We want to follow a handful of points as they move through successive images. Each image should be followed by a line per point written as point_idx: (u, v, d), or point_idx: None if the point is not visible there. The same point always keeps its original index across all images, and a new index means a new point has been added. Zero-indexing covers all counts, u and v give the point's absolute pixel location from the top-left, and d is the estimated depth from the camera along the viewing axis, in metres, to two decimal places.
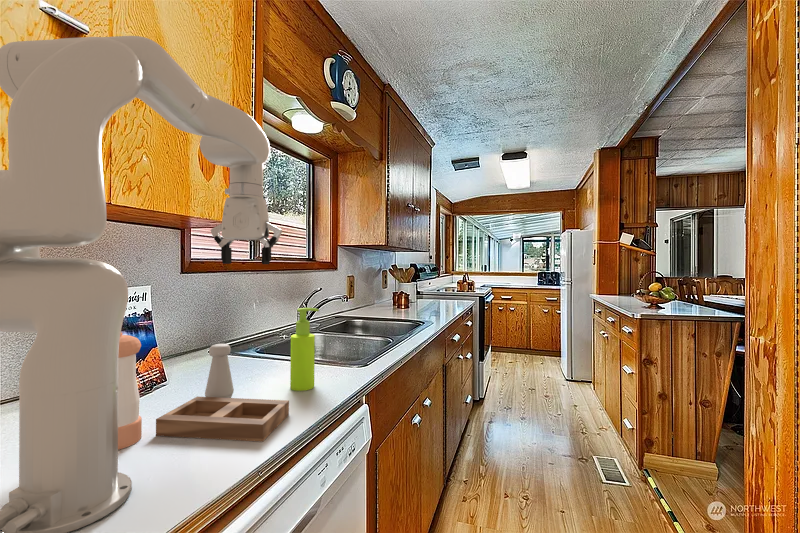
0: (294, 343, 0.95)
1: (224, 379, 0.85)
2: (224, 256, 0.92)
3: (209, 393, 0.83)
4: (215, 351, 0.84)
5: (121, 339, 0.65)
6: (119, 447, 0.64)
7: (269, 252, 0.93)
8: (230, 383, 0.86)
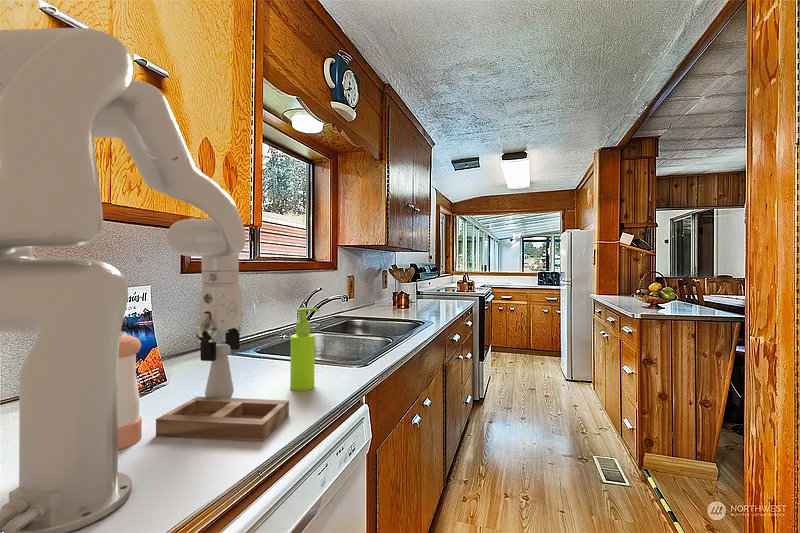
0: (294, 343, 0.95)
1: (224, 379, 0.85)
2: (215, 352, 0.82)
3: (209, 393, 0.83)
4: None
5: (121, 339, 0.65)
6: (119, 447, 0.64)
7: None
8: (230, 383, 0.86)
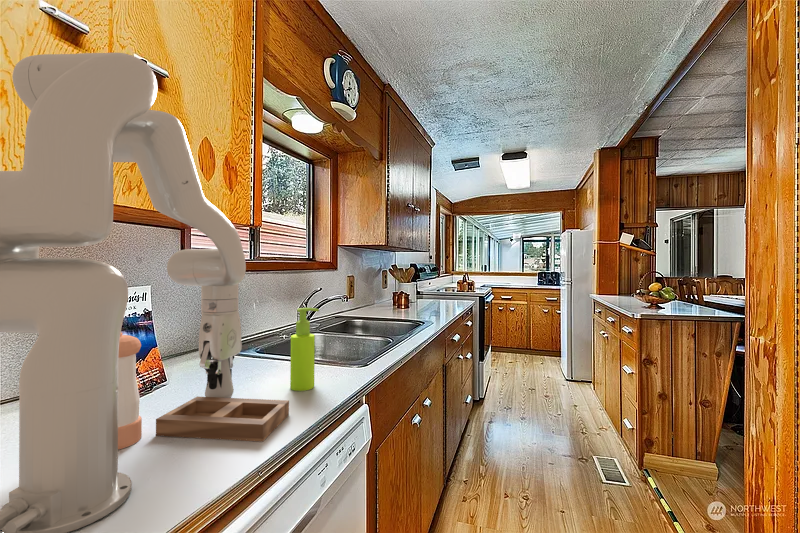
0: (294, 343, 0.95)
1: (224, 379, 0.85)
2: None
3: (209, 393, 0.83)
4: None
5: (121, 339, 0.65)
6: (119, 447, 0.64)
7: None
8: (230, 383, 0.86)
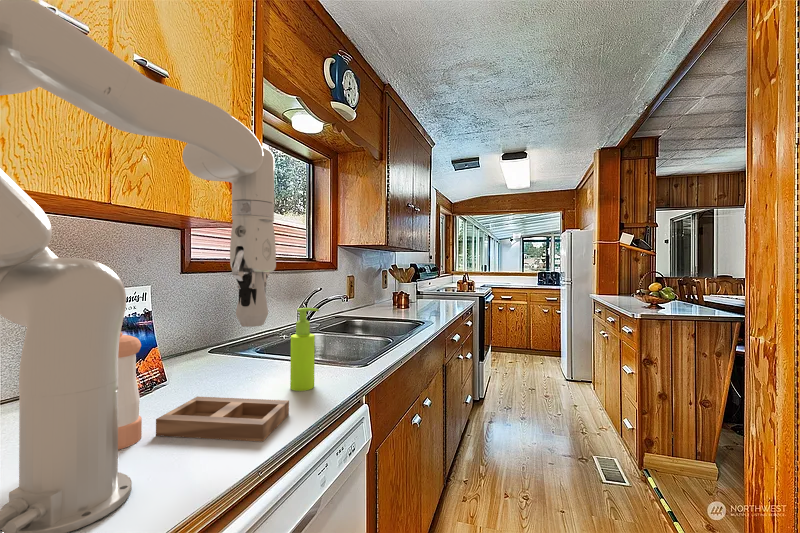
0: (294, 343, 0.95)
1: (259, 295, 0.72)
2: None
3: (242, 311, 0.71)
4: None
5: (121, 339, 0.65)
6: (119, 447, 0.64)
7: None
8: (265, 302, 0.74)
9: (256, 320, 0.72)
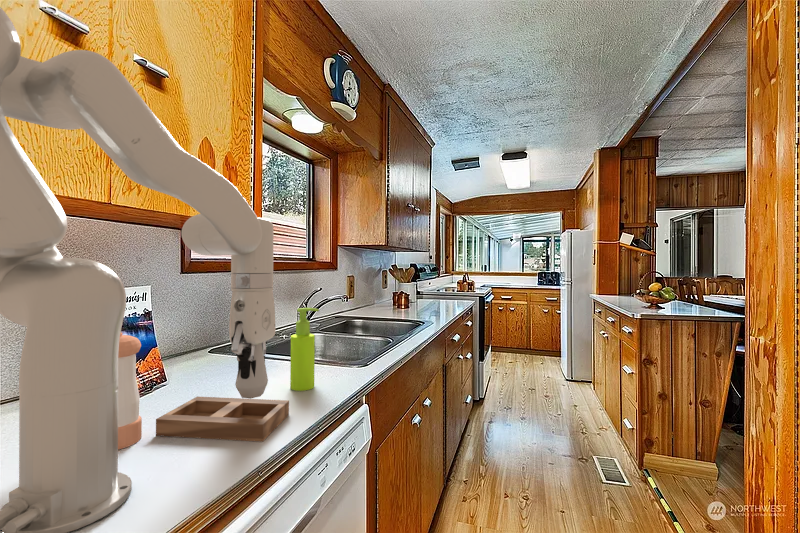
0: (294, 343, 0.95)
1: (258, 367, 0.72)
2: None
3: (241, 383, 0.71)
4: None
5: (121, 339, 0.65)
6: (119, 447, 0.64)
7: None
8: (264, 372, 0.74)
9: (255, 392, 0.72)
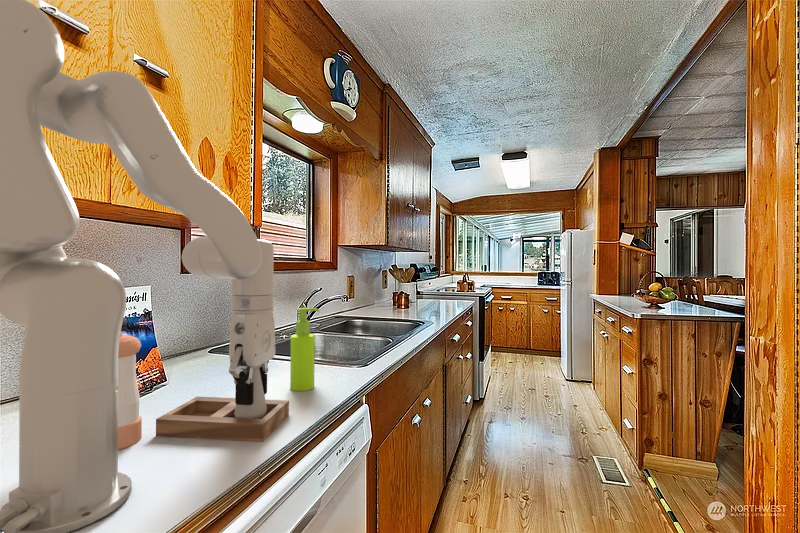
0: (294, 343, 0.95)
1: (257, 396, 0.72)
2: None
3: (240, 413, 0.71)
4: None
5: (121, 339, 0.65)
6: (119, 447, 0.64)
7: None
8: (263, 400, 0.74)
9: None
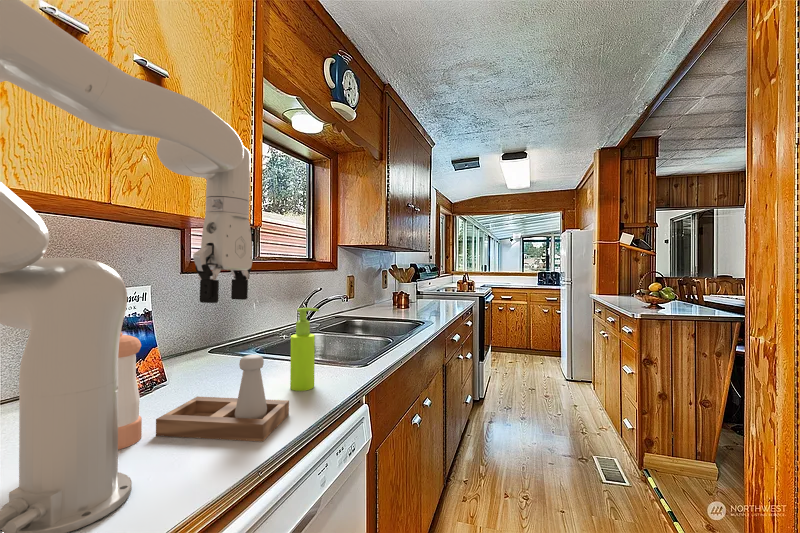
0: (294, 343, 0.95)
1: (257, 396, 0.72)
2: (218, 292, 0.68)
3: (241, 413, 0.71)
4: (247, 364, 0.71)
5: (121, 339, 0.65)
6: (119, 447, 0.64)
7: None
8: (264, 401, 0.73)
9: None
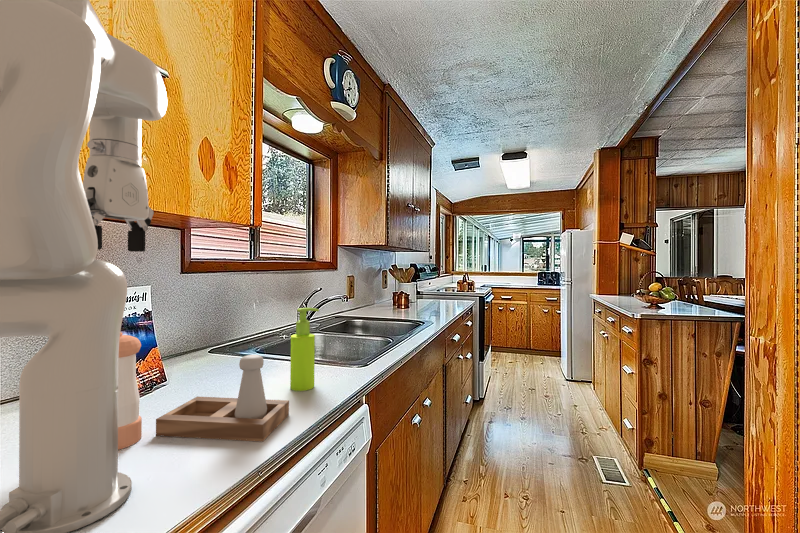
0: (294, 343, 0.95)
1: (257, 396, 0.72)
2: (101, 239, 0.65)
3: (241, 413, 0.71)
4: (247, 364, 0.71)
5: (121, 339, 0.65)
6: (119, 447, 0.64)
7: None
8: (264, 401, 0.73)
9: None
